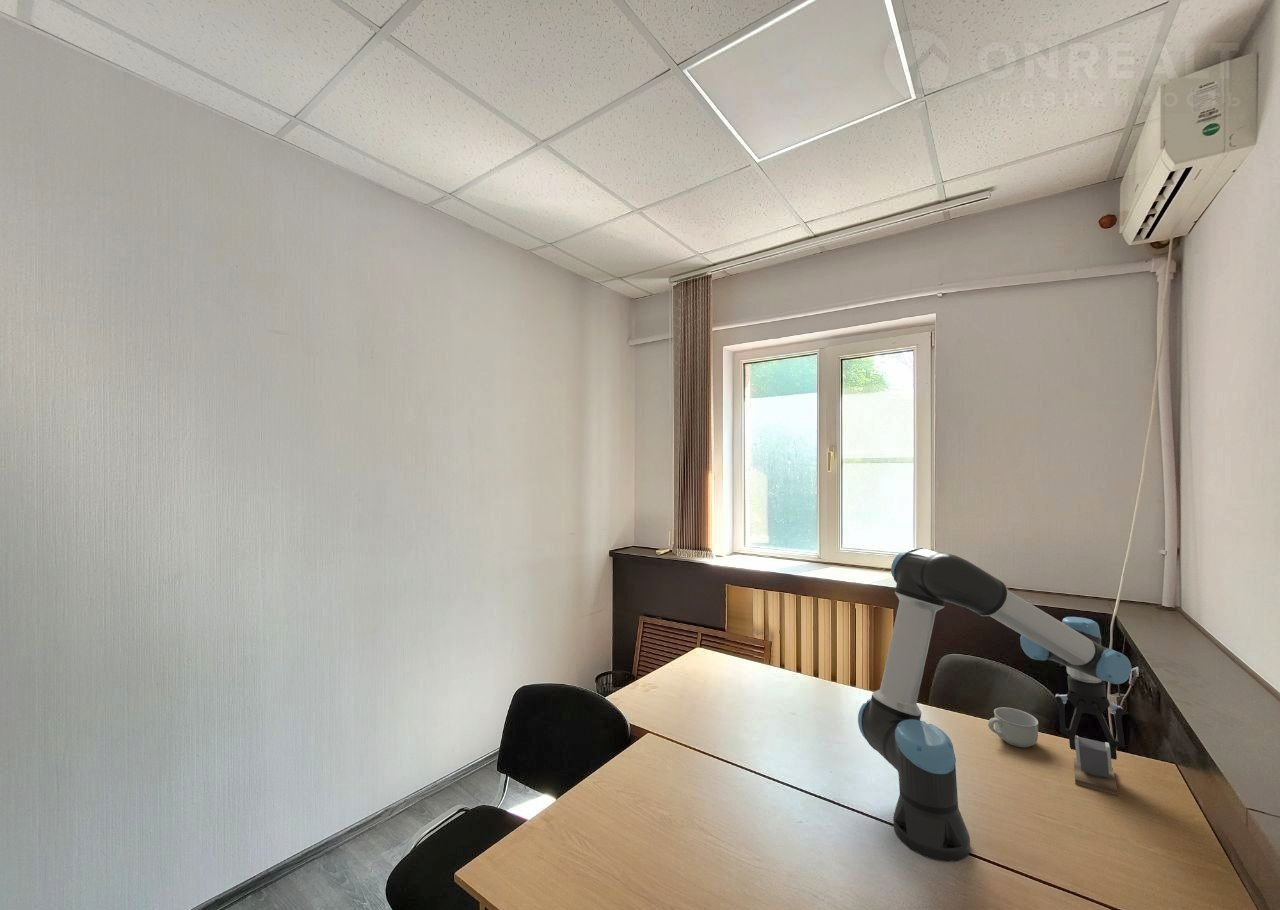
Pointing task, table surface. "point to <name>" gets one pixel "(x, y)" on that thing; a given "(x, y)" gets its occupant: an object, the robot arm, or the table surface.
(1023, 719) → the teacup
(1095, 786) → the stand
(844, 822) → the table surface
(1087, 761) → the grey upright block
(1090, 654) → the robot arm
